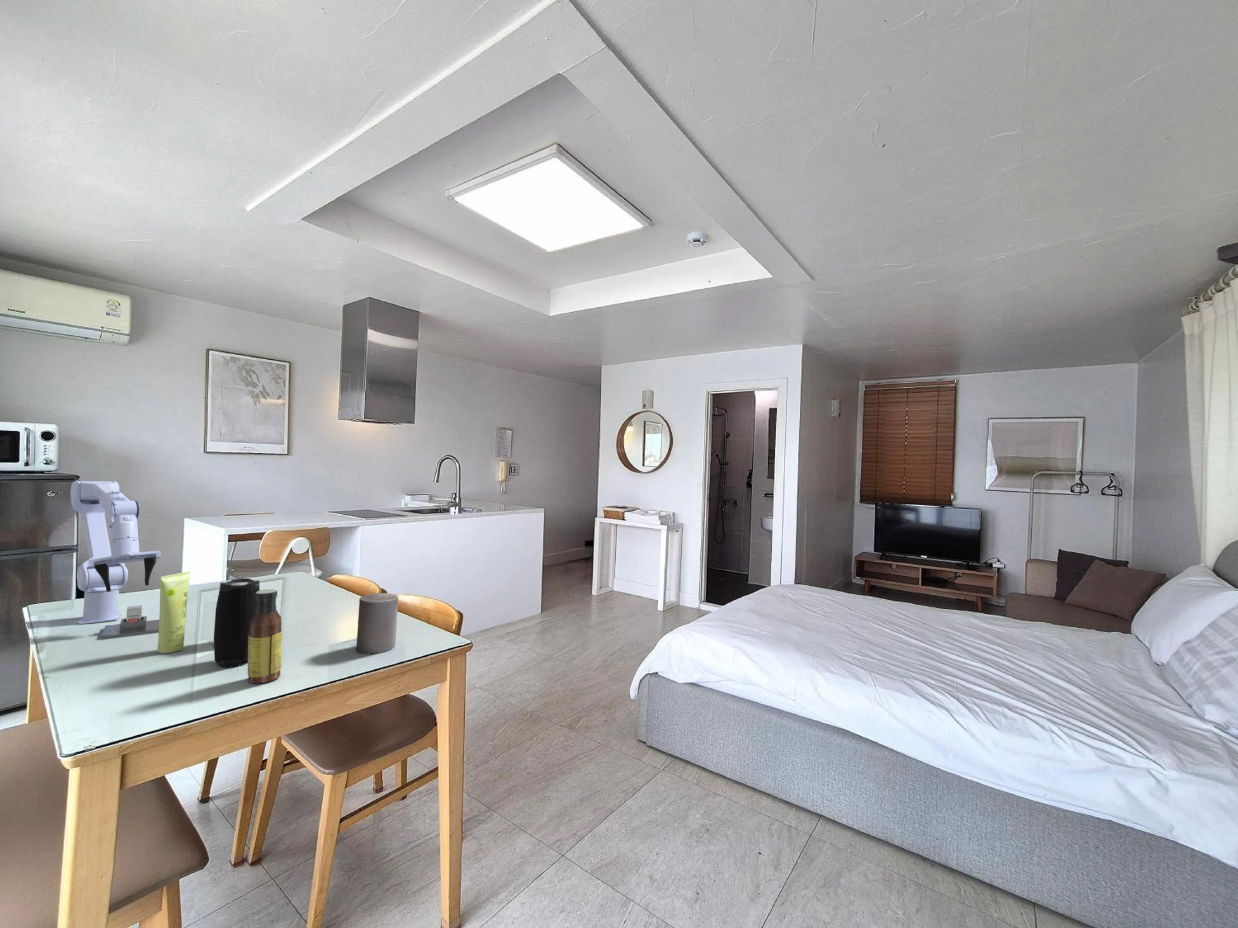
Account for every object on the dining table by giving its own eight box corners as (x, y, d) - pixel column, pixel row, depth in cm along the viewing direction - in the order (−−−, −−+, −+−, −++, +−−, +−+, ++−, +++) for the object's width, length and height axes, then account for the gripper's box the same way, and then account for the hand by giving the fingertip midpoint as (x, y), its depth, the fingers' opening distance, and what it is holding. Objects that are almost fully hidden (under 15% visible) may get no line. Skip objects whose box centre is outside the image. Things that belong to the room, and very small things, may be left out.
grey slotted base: (105, 628, 143) (106, 615, 143) (162, 621, 151) (163, 610, 151) (100, 639, 134) (101, 626, 134) (161, 631, 142) (162, 619, 142)
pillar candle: (347, 649, 134) (351, 592, 134) (380, 639, 143) (383, 586, 143) (371, 656, 130) (375, 598, 130) (403, 646, 138) (407, 591, 139)
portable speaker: (209, 671, 116) (214, 586, 117) (216, 658, 124) (220, 578, 125) (255, 665, 121) (259, 583, 121) (258, 653, 129) (263, 576, 129)
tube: (181, 652, 127) (186, 574, 128) (154, 655, 124) (160, 576, 125) (185, 645, 132) (190, 570, 132) (159, 648, 129) (164, 572, 130)
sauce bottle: (275, 671, 118) (280, 586, 118) (284, 679, 114) (290, 590, 114) (241, 679, 112) (247, 590, 113) (250, 687, 108) (256, 594, 109)
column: (125, 629, 142) (127, 606, 143) (140, 627, 145) (142, 605, 145) (124, 632, 140) (126, 609, 140) (140, 630, 142) (141, 607, 142)
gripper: (85, 541, 136) (88, 591, 133) (158, 533, 146) (162, 579, 143) (89, 548, 141) (92, 596, 138) (159, 539, 151) (163, 583, 148)
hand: (128, 587), depth 141 cm, fingers open, 7 cm apart
